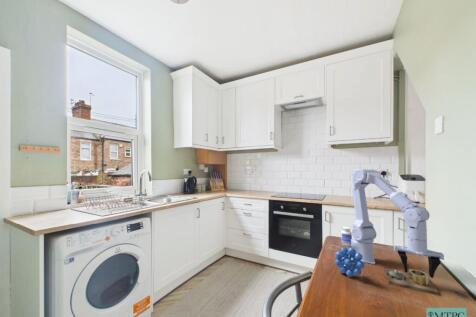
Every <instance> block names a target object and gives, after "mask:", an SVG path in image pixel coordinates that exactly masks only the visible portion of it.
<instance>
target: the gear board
mask: <svg viewBox="0 0 476 317" xmlns="http://www.w3.org/2000/svg"><path fill="white" fill-rule="evenodd" d="M383 268H384V269H383V270H384V274H385V276H386V279H387V282H388V284H389V285H394V286H397V287H401V288H405V289H410V290H414V291H419V292H423V293H427V294H432V295H435V296H439V291H438V290H437V288H436V287H435V286H434V284H433V282H431V280H430V279H429V284H428V285H421V284H417V283H414V282H412V281H411V280H409V278H408V273H406V272H405V271H400V270H397V269H391V268H387V267H383ZM417 270H418V269H415V274H417V275H421V272H420V271H421V270H419V271H417Z"/></svg>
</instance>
